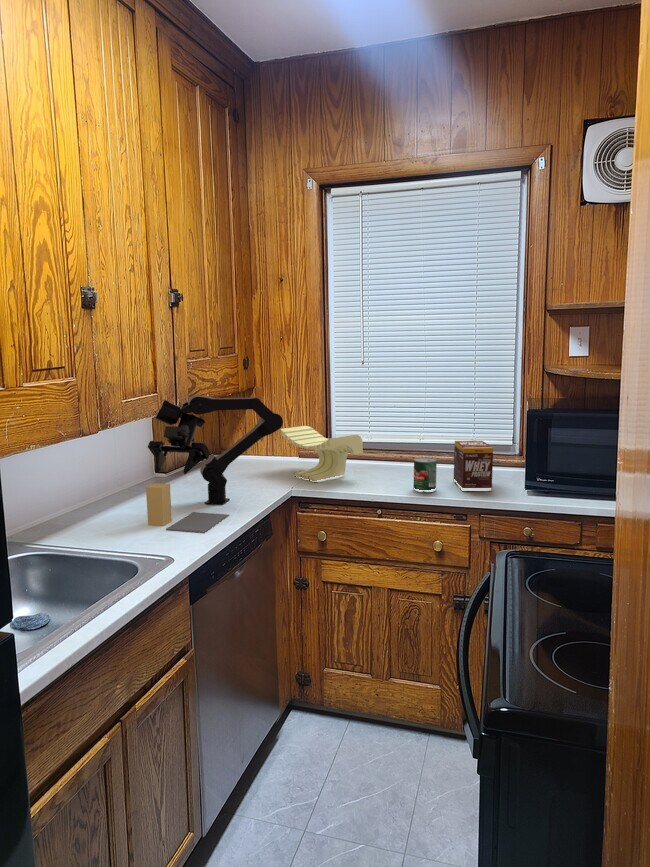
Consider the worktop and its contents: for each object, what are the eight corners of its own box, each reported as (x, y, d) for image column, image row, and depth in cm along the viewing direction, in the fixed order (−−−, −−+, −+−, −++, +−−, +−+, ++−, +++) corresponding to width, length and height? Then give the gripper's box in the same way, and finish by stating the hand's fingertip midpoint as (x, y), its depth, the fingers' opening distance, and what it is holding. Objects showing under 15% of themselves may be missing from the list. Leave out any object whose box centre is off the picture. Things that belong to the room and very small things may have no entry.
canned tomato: (410, 491, 219) (410, 460, 217) (417, 486, 226) (417, 456, 224) (432, 494, 215) (433, 462, 213) (438, 488, 222) (439, 458, 220)
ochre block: (156, 520, 188) (154, 482, 186) (171, 521, 187) (169, 483, 185) (148, 525, 183) (145, 486, 181) (163, 526, 182) (161, 487, 180)
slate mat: (193, 513, 195) (193, 512, 195) (229, 515, 192) (229, 514, 192) (166, 530, 178) (166, 528, 178) (204, 533, 175) (204, 531, 175)
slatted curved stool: (362, 480, 236) (362, 433, 233) (330, 487, 226) (329, 438, 223) (312, 467, 258) (312, 424, 256) (281, 473, 248) (280, 429, 246)
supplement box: (462, 492, 217) (463, 448, 215) (453, 481, 233) (454, 440, 230) (492, 491, 217) (493, 447, 215) (481, 481, 233) (482, 440, 230)
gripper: (148, 414, 195) (131, 456, 186) (204, 416, 190) (189, 459, 181) (162, 435, 203) (147, 476, 195) (215, 437, 199) (202, 479, 190)
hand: (170, 472), depth 190 cm, fingers open, 9 cm apart
